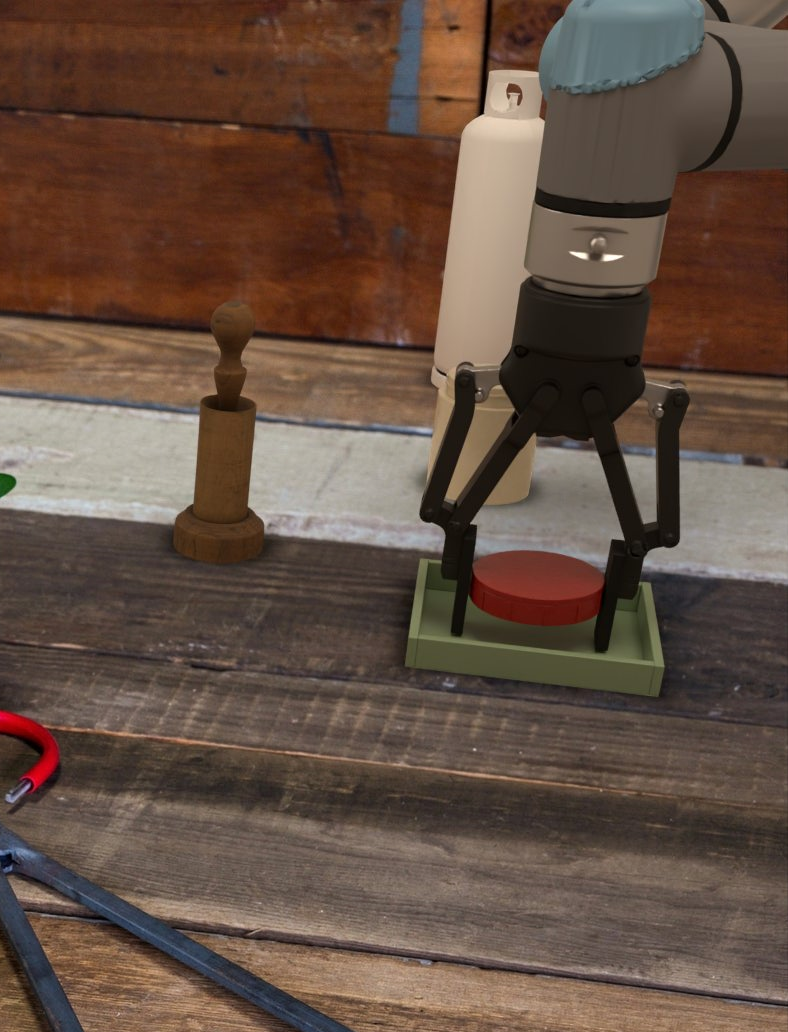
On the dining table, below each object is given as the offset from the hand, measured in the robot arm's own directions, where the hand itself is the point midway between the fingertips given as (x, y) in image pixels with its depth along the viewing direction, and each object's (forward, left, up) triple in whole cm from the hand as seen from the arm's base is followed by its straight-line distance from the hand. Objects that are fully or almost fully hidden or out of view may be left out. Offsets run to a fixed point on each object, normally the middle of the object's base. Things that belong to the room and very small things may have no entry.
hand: (528, 632), depth 109 cm
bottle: (+5, -57, -1) cm, 57 cm away
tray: (0, 0, -1) cm, 1 cm away
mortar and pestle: (+22, -10, -1) cm, 24 cm away
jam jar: (+4, -28, -1) cm, 28 cm away
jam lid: (0, 0, +4) cm, 4 cm away
